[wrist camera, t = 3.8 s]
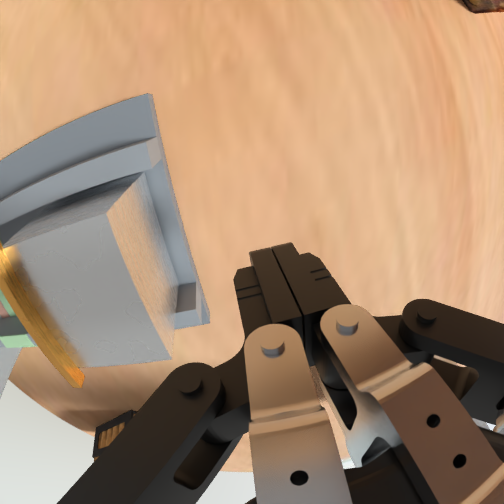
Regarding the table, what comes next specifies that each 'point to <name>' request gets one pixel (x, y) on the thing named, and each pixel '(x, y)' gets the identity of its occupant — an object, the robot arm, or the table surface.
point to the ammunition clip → (110, 432)
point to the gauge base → (86, 177)
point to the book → (485, 6)
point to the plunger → (94, 279)
